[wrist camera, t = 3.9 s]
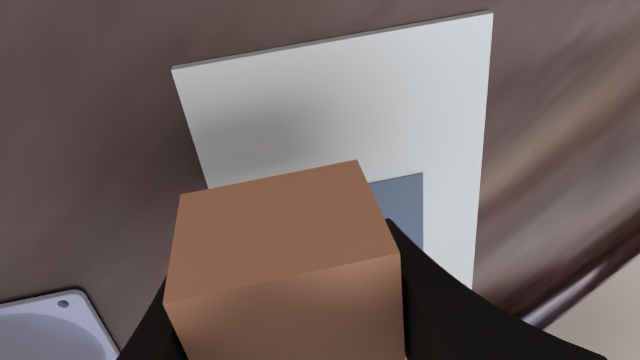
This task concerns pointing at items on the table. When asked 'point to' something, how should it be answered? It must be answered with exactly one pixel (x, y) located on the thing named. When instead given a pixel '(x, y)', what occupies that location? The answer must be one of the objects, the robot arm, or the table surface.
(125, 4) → the table surface
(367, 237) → the terracotta block
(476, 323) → the robot arm
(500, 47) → the table surface
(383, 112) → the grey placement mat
